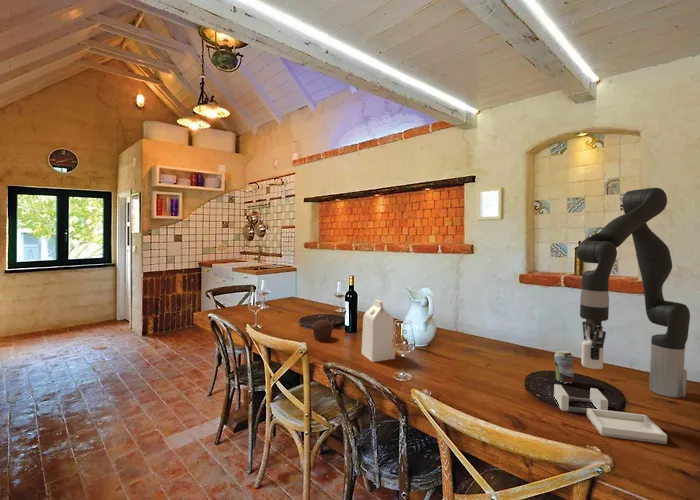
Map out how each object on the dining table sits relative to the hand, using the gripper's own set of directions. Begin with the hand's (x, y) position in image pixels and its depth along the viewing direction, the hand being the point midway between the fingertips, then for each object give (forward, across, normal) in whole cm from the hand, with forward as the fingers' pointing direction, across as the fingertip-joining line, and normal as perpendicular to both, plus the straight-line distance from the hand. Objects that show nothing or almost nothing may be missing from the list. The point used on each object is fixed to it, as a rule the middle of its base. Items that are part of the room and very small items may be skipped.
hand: (592, 356), depth 116 cm
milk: (+18, +31, +77) cm, 85 cm away
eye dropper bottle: (+3, 0, 0) cm, 3 cm away
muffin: (+18, +49, +112) cm, 123 cm away
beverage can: (+18, +24, +2) cm, 30 cm away
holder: (+18, +3, +2) cm, 18 cm away
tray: (+18, -9, -6) cm, 21 cm away
